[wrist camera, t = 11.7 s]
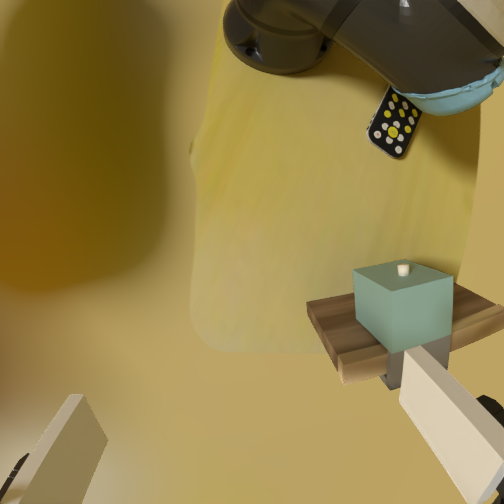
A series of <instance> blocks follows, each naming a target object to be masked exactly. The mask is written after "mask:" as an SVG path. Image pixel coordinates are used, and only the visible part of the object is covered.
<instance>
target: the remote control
mask: <svg viewBox="0 0 504 504" xmlns="http://www.w3.org/2000/svg"><path fill="white" fill-rule="evenodd" d="M421 114H422V111H421V110H420V109H418V108H417V107H416V106H415V105H414V104H413V103H412V102H410V101H409V100H408V99H407V98H406V97H405V96H403V95H400V94H398V93H397V92H396V91H395V90H394V89H393V88H392V86H391V85H390V84H389V86H388V88H387V90H386V92H385V94H384V96H383V98H382V100H381V102H380V104H379V106H378V108H377V110H376V112H375V114H374V116H373V119H372V121H371V122H370V125H369V127H368V128H367V131H366V136H367V139H368V141H369V142H370V143H371V144H373V145H374V146H376V147H377V148H378V147H379V148H378V149H380V150H381V151H383V152H384V153H385V152H386V153H385V154H387V155H388V156H390V157H392V158H399V157H401V156H402V155H403V154H404V152H405V150H406V148H407V146H408V144H409V141H410V139H411V137H412V135H413V132H414V130H415V128H416V125H417V123H418V121H419V118H420V116H421Z"/></svg>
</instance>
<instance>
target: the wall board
mask: <svg viewBox="0 0 504 504" xmlns="http://www.w3.org/2000/svg"><path fill="white" fill-rule="evenodd" d="M306 303H307V313H308V317H309V318H310V320H311V322H312V324H313V326H314V328H315V330H316V332H317V333H318V335H319V337H320V339H321V341H322V343H323V345H324V347H325V349H326V350H327V352H328V354H329V356H330V358H331V360H332V362H333V364H334V366H335V367H336V369H337V371H338V375H339V377H340V378H341V381H342V383H343V384H344V385H347V384H351V383H356V382H359V381H363V380H367V379H370V378H374V377H377V376H381V375H384V374H387V350H388V349H386V348H385V347H384V346H383V345H382V344H381V343H380V342H379V341H378V340H377V339H376V338H375V337H374V336H373V335H372V334H371V333H370V332H369V331H368V330H367V329H366V328H365V327H364V326H363V325H362V324H361V323H360V322H359V321H358V320H357V319H356V310H355V295H354V293H351V294H346V295H341V296H336V297H331V298H325V299H320V300H315V301H310V302H306ZM503 328H504V307H503V306H501V305H499V304H498V305H496V304H494V303H492V302H490V301H489V300H487V299H485V298H483V297H481V296H479V295H477V294H475V293H473V292H472V291H469V290H468V289H466V288H464V287H462V286H460V285H458V284H456V283H454V282H453V312H452V329H451V341H450V352H451V351H454V350H456V349H459V348H461V347H464V346H466V345H468V344H471V343H473V342H475V341H478V340H480V339H482V338H484V337H487V336H489V335H491V334H493V333H495V332H497V331H499V330H502V329H503Z"/></svg>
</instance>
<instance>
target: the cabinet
mask: <svg viewBox="0 0 504 504" xmlns="http://www.w3.org/2000/svg"><path fill="white" fill-rule="evenodd" d="M352 271H353V282H354V295H355V310H356V319H357V320H358V321H359V322H360V323H361V324H362V325H363V326H364V327H365V328H366V329H367V330H368V331H369V332H370V333H371V334H372V335H373V336H374V337H375V338H376V339H377V340H378V341H379V342H380V343H381V344H382V345H383V346H384V347H385V348H386V349H388V350H387V374H384V375H381V376H379V377H380V378H381V379H382V381H383V382H384V383H385V384H386V386H387V387H388V388H389V390H394V389H397V388H400V387H401V382H402V373H403V363H404V352H405V350H407V349H411V348H414V347H417V346H420V345H421V346H422V347H423V348H424V349H425V350H426V351H427V352H428V353H429V354H430V355H431V356H432V357H433V358H434V359H435V360H436V361H437V362H439V363H440V364H441V365H442V366H443V367H444V368H445V369H446V370H447V368H448V360H449V352H450V341H451V329H452V312H453V276H452V275H449V274H446V273H444V272H441V271H438V270H435V269H432V268H429V267H426V266H423V265H420V264H417V263H414V262H411V261H408V260H405V259H404V260H400V261H395V262H390V263H385V264H380V265H374V266H369V267H364V268H359V269H354V270H352Z"/></svg>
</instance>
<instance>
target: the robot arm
mask: <svg viewBox="0 0 504 504" xmlns="http://www.w3.org/2000/svg"><path fill="white" fill-rule="evenodd" d="M223 32H224V37H225V41H226V43H227V45H228V47H229V48H230V50H231V51H232V52H233V54H234V55H235V56H236V57H237V58H238V59H240V60H241V61H242V62H244V63H245V64H247V65H249V66H250V67H253V68H255V69H257V70H260V71H263V72H267V73H273V74H294V73H299V72H302V71H305V70H308V69H310V68H312V67H314V66H315V65H317V64H318V63H319V62H320V61H321V60H322V59H323V58H324V57H325V55H326V54H327V53H328V51H329V50H330V48H331V46H332V44H333V41H335V42H336V43H337V44H339V45H340V46H342V47H343V48H345V49H346V50H347V51H349V52H350V53H351V54H353V55H354V56H355V57H357V58H358V59H359V60H361V61H362V62H363V63H365V64H366V65H367V66H368V67H370V68H371V69H372V70H373V71H375V72H376V73H377V74H378V75H380V76H381V77H382V78H383V79H384V80H386V81H387V82H388V83H389V84H390V85H391V86H392V88H393V89H394V90H395V91H396V92H397V93H398V94H400V95H403V96H405V97H406V98H407V99H408V100H409V101H410V102H412V103H413V104H414V105H415V106H416V107H417V108H418V109H420V110H421V111H423V112H425V113H427V114H432V115H435V116H449V115H454V114H458V113H461V112H464V111H466V110H468V109H471V108H473V107H475V106H476V105H478V104H480V103H481V102H483V101H484V100H486V99H487V98H488V97H489V96H491V95H492V94H493V88H496V87H499V86H500V85H501V83H502V82H503V80H504V57H503V56H504V0H231V1H230V3H229V4H228V6H227V8H226V10H225V13H224V17H223ZM399 403H400V404H401V405H402V407H403V408H404V410H405V411H406V413H407V414H408V415H409V417H410V418H411V420H412V421H413V423H414V424H415V425H416V427H417V428H418V430H419V431H420V433H421V434H422V436H423V437H424V439H425V440H426V441H427V443H428V445H429V446H430V447H431V449H432V450H433V452H434V453H435V455H436V456H437V458H438V459H439V461H440V462H441V464H442V465H443V467H444V468H445V470H446V471H447V473H448V475H449V476H450V478H451V479H452V481H453V482H454V484H455V485H456V487H457V488H458V490H459V491H460V493H461V494H462V496H463V498H464V499H465V501H466V502H467V504H481V503H483V502H485V501H486V500H488V499H489V498H490V497H491V495H492V494H493V493H494V491H495V490H497V491H498V492H499V495H498V497H497V498H496V499H495V501H494V502H493V503H492V504H504V409H503V407H502V406H501V405H500V404H499V403H498V402H497V401H496V400H494V399H492V398H490V397H488V396H485V395H482V396H480V397H478V398H476V399H475V398H474V397H473V396H472V395H471V394H470V393H469V392H468V391H467V390H466V389H465V388H464V387H463V386H462V385H461V384H460V383H459V382H458V381H457V380H456V379H455V378H454V377H453V376H452V375H451V374H450V373H449V372H448V371H447V370H446V369H445V368H444V367H443V366H442V365H441V364H440V363H439V362H437V361H436V360H435V359H434V358H433V357H432V356H431V355H430V354H429V353H428V352H427V351H426V350H425V349H424V348H423V347H422V346H421V345H420V346H417V347H414V348H411V349H407V350H405V352H404V363H403V373H402V382H401V391H400V398H399ZM107 442H108V439H107V437H106V435H105V433H104V431H103V430H102V428H101V426H100V424H99V422H98V421H97V419H96V417H95V415H94V413H93V411H92V410H91V407H90V405H89V403H88V402H87V400H86V397H85V395H82V394H70V396H69V397H68V398H67V400H66V401H65V402H64V404H63V405H62V407H61V408H60V409H59V411H58V413H57V414H56V415H55V417H54V418H53V420H52V421H51V423H50V424H49V426H48V427H47V428H46V430H45V432H44V433H43V435H42V436H41V437H40V439H39V441H38V442H37V444H36V445H35V447H34V448H33V450H32V451H31V453H30V454H29V453H27V454H26V455H25V456H24V457H22V458H21V459H20V460H19V461H18V463H17V464H16V466H15V467H14V471H12V472H11V474H10V475H9V476H10V477H8V478H7V480H6V482H5V483H4V485H3V486H2V488H1V490H0V504H82V501H83V499H84V496H85V494H86V491H87V489H88V486H89V484H90V482H91V479H92V477H93V474H94V472H95V470H96V467H97V465H98V463H99V460H100V458H101V455H102V453H103V451H104V448H105V447H106V444H107Z"/></svg>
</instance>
